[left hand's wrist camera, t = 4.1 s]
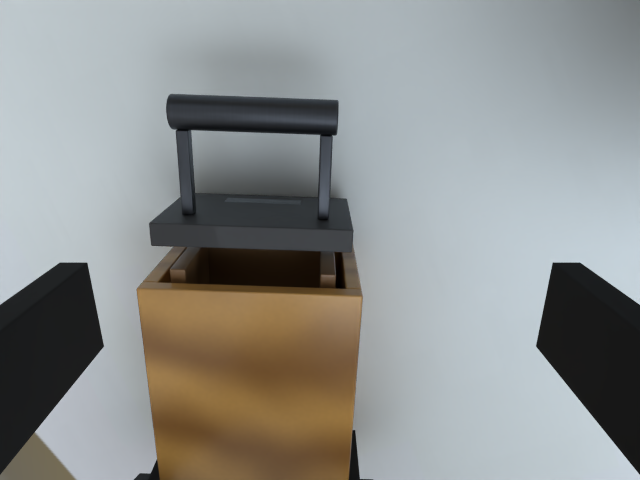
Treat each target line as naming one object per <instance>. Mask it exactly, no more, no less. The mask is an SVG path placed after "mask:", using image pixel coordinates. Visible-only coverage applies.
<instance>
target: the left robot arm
mask: <svg viewBox="0 0 640 480" xmlns="http://www.w3.org/2000/svg"><path fill="white" fill-rule="evenodd" d="M103 347H104V345H103V340H102V335H101V330H100V325H99V320H98V315H97V310H96V305H95V300H94V295H93V290H92V285H91V280H90V274H89V269H88V264H87V263H59V264H57V265H56V266H55V267H53V268H52V269H50V270H49V271H48V272H46V273H45V274H43V275H42V276H40V277H39V278H38V279H36V280H35V281H33V282H32V283H31V284H29V285H28V286H26V287H25V288H24V289H22V290H21V291H19V292H18V293H16V294H15V295H14V296H12V297H11V298H9V299H8V300H7V301H5V302H4V303H2V304H1V305H0V474H1V473H2V472H3V470H4V469H5V468H6V467H7V465H8V464H9V463H10V462H11V460H12V459H13V458H14V457H15V456H16V454H17V453H18V452H19V451H20V449H21V448H22V447H23V446H24V444H25V443H26V442H27V441H28V440H29V438H30V437H31V436H32V435H33V433H34V432H35V431H36V430H37V428H38V427H39V426H40V425H41V423H42V422H43V421H44V420H45V418H46V417H47V416H48V415H49V414H50V412H51V411H52V410H53V409H54V407H55V406H56V405H57V404H58V402H59V401H60V400H61V399H62V397H63V396H64V395H65V394H66V393H67V391H68V390H69V389H70V388H71V386H72V385H73V384H74V383H75V381H76V380H77V379H78V378H79V376H80V375H81V374H82V373H83V371H84V370H85V369H86V368H87V367H88V365H89V364H90V363H91V362H92V360H93V359H94V358H95V357H96V355H97V354H98V353H99V352H100V350H101V349H102V348H103ZM536 347H537V348H538V349H539V350H540V352H541V353H542V354H543V355H544V357H545V358H546V359H547V360H548V362H549V363H550V364H551V365H552V367H553V368H554V369H555V370H556V371H557V373H558V374H559V375H560V376H561V378H562V379H563V380H564V381H565V383H566V384H567V385H568V386H569V388H570V389H571V390H572V391H573V393H574V394H575V395H576V396H577V397H578V399H579V400H580V401H581V402H582V404H583V405H584V406H585V407H586V409H587V410H588V411H589V412H590V414H591V415H592V416H593V417H594V418H595V420H596V421H597V422H598V423H599V425H600V426H601V427H602V428H603V430H604V431H605V432H606V433H607V435H608V436H609V437H610V438H611V440H612V441H613V442H614V443H615V444H616V446H617V447H618V448H619V449H620V451H621V452H622V453H623V454H624V456H625V457H626V458H627V459H628V461H629V462H630V463H631V464H632V465H633V467H634V468H635V469H636V470H637V472H638V473H639V474H640V305H639V304H638V303H636V302H635V301H633V300H632V299H631V298H629V297H628V296H626V295H625V294H624V293H622V292H621V291H619V290H618V289H616V288H615V287H614V286H612V285H611V284H609V283H608V282H607V281H605V280H604V279H602V278H601V277H600V276H598V275H597V274H595V273H594V272H592V271H591V270H590V269H588V268H587V267H585V266H584V265H583V264H581V263H553V264H552V269H551V274H550V279H549V285H548V290H547V295H546V300H545V305H544V310H543V315H542V320H541V325H540V330H539V335H538V340H537V345H536Z"/></svg>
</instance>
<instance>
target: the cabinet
mask: <svg viewBox="0 0 640 480" xmlns="http://www.w3.org/2000/svg"><path fill="white" fill-rule="evenodd" d="M186 249H187V247H175V246H174V247H173V248H172V249H171V250H170V251H169V253H168V254H167V255H166V256H165V257H164V258H163V259H162V261H161V262H160V263H159V264H158V265H157V266H156V267H155V268H154V270H153V271H152V272H151V273H150V274H149V275H148V276H147V277H146V279H145V280H144V281H143V283H141V284H140V286H139V287H138V288H137V296H138V304H139V312H140V321H141V329H142V337H143V345H144V354H145V362H146V370H147V378H148V387H149V395H150V403H151V411H152V419H153V428H154V436H155V444H156V452H157V461H158V469H159V477H160V480H349V468H350V455H351V443H352V430H353V417H354V404H355V391H356V378H357V365H358V352H359V339H360V326H361V313H362V300H363V296H362V291H361V285H360V280H359V274H358V269H357V264H356V258H355V253H354V248H353V244H352V252H351V253H350V252H334V255H335V269H336V285H335V289H334V288H305V287H275V286H245V285H215V284H186V283H171V278H170V269H171V267H172V266H173V265H174V264H175V262H176V261H177V260H178V259H179V257H180V256H181V255H182V254H183V252H184V251H185V250H186Z"/></svg>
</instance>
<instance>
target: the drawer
mask: <svg viewBox="0 0 640 480" xmlns="http://www.w3.org/2000/svg"><path fill="white" fill-rule="evenodd" d="M166 113H167V120H168V123H169V126H170V127H171V128H172V129H176V141H177V154H178V167H179V180H180V193H181V197H180V198H179V199H178V200H176V201H175V202H174V203H173V204H172V205H170V206H169V207H168V208H167V209H166V210H164V211H163V212H162V213H161V214H160V215H158V216H157V217H156V218H155V219H154V220H152V221H151V222H150V223H149V227H150V236H151V245H152V246H175V247H187V249H186V250H185V251H184V252H183V254H182V255H181V256H180V257H179V259H178V260H177V261H176V262H175V264H174V265H173V266H172V267H171V269H170V278H171V283H186V284H215V285H245V286H275V287H305V288H334V289H335V285H336V269H335V255H334V252H350V253H351V252H352V244H353V227H352V222H351V217H350V212H349V208H348V203H347V199H341V198H330V186H331V163H332V140H333V136H332V135H337V128H338V100H320V99H293V98H266V97H239V96H212V95H185V94H170V95H169V96H168V99H167V105H166ZM191 130H203V131H231V132H258V133H285V134H313V135H320V160H319V188H318V198H313V197H284V196H256V195H228V194H199V193H195V185H194V169H193V154H192V138H191Z"/></svg>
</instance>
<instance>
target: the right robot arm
mask: <svg viewBox="0 0 640 480" xmlns="http://www.w3.org/2000/svg"><path fill="white" fill-rule="evenodd" d="M134 480H160V477H159V469H158V461H156V463H155V465H154V467H153V470H152V472H151V474H144V473H140V474H139V475H138V476H137V477H136V478H135V479H134ZM349 480H371V479H360V477H359V466H358V456H357V445H356V434H355V430H352V443H351V455H350V468H349Z"/></svg>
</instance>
